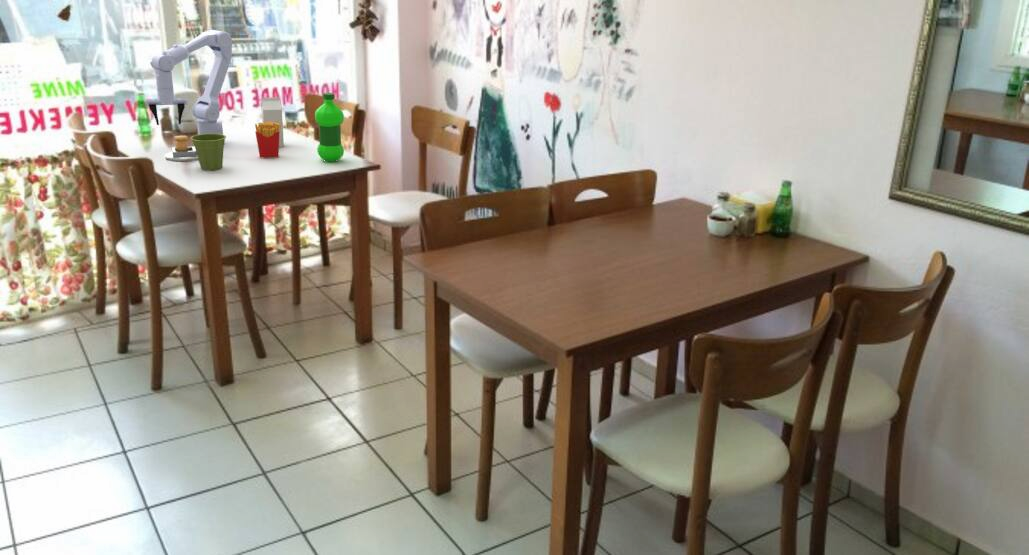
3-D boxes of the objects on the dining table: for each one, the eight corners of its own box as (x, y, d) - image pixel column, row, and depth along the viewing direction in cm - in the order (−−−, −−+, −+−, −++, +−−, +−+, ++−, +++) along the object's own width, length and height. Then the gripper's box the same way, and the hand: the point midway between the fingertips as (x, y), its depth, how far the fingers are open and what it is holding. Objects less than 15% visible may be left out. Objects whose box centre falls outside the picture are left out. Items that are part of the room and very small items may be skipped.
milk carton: (284, 147, 332) (281, 99, 325) (265, 147, 329) (262, 99, 322) (281, 143, 338) (279, 95, 331) (263, 143, 335) (260, 96, 328)
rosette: (219, 151, 320) (219, 142, 319) (223, 159, 309) (222, 150, 308) (165, 154, 313) (164, 145, 311) (166, 162, 302) (165, 153, 300)
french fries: (257, 158, 313) (254, 123, 309) (256, 155, 317) (254, 121, 312) (282, 157, 316) (280, 123, 311) (281, 154, 320) (279, 121, 315)
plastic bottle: (341, 156, 321) (339, 91, 312) (346, 163, 312) (344, 96, 303) (315, 157, 318) (312, 91, 309) (319, 164, 309) (316, 96, 300)
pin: (185, 152, 312) (183, 135, 310) (192, 154, 309) (190, 137, 307) (173, 154, 309) (171, 136, 306) (180, 156, 306) (178, 139, 303)
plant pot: (209, 162, 304) (206, 131, 300) (235, 166, 300) (233, 135, 296) (186, 169, 294) (183, 137, 290) (213, 174, 290) (210, 142, 286)
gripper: (185, 85, 316) (188, 121, 321) (143, 86, 311) (147, 122, 316) (186, 88, 310) (189, 125, 315) (143, 89, 305) (148, 126, 310)
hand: (168, 124), depth 315 cm, fingers open, 7 cm apart
